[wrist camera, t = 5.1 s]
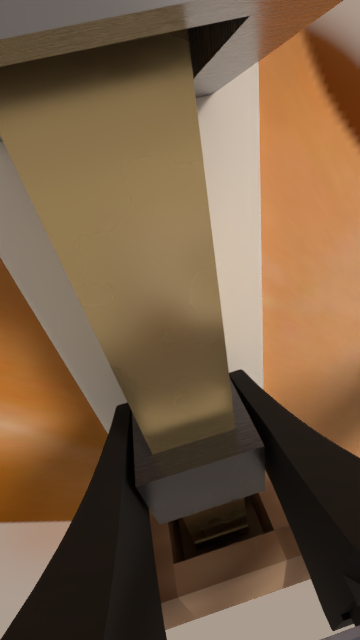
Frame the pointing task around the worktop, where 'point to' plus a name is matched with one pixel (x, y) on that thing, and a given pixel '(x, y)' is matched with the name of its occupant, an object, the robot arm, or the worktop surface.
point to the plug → (141, 261)
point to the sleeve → (158, 29)
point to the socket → (226, 562)
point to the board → (228, 239)
